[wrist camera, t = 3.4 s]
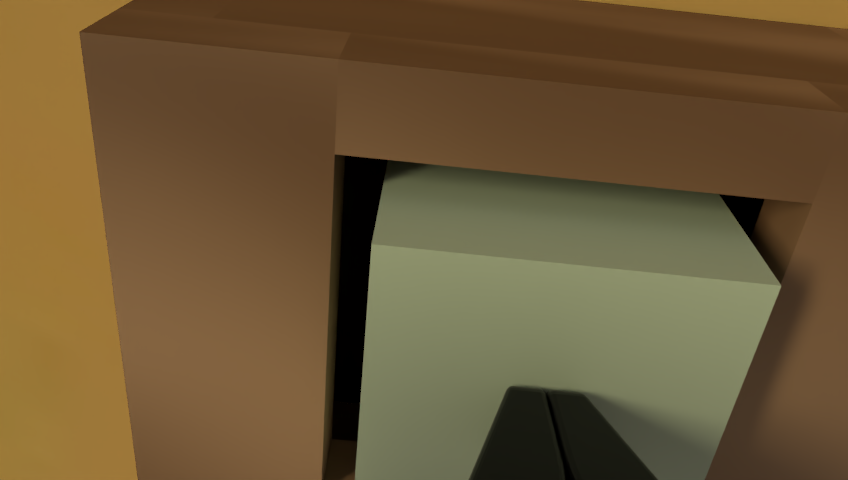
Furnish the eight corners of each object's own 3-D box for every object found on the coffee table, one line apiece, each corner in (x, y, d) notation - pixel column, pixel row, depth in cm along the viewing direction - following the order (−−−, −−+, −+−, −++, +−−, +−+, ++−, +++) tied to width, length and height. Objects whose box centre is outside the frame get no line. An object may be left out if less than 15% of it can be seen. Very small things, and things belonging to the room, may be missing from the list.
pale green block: (624, 384, 12) (674, 555, 9) (375, 359, 12) (351, 525, 9) (692, 154, 10) (781, 285, 7) (394, 124, 10) (371, 244, 7)
